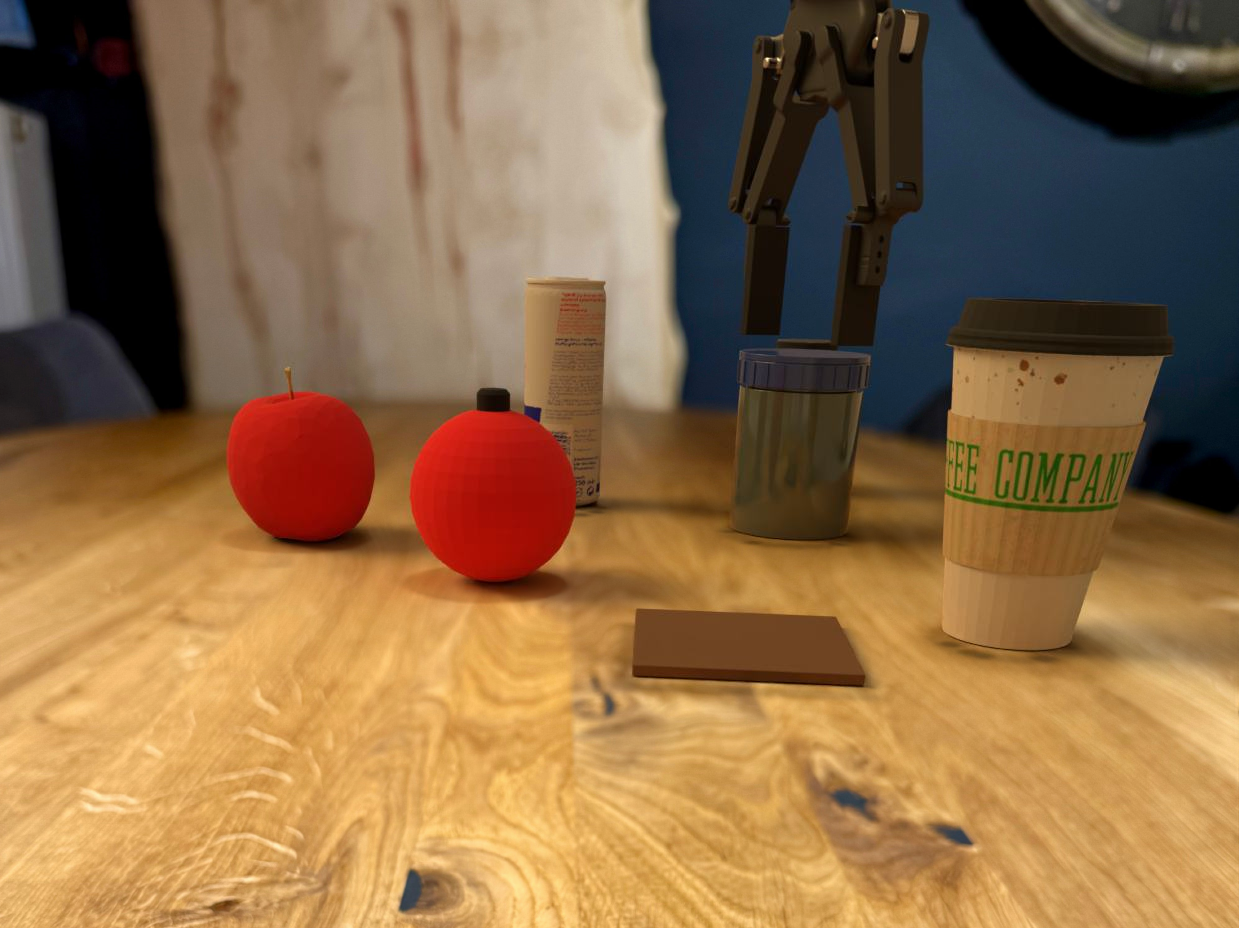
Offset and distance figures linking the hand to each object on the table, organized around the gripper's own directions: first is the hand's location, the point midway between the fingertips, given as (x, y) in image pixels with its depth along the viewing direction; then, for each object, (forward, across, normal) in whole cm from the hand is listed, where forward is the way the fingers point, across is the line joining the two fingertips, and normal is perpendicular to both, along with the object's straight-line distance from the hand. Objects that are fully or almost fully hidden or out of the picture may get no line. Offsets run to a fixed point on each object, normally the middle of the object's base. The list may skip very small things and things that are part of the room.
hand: (803, 339), depth 82 cm
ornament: (+12, -8, +25) cm, 29 cm away
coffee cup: (+12, -27, +6) cm, 30 cm away
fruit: (+12, +8, +31) cm, 34 cm away
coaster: (+12, -24, +20) cm, 34 cm away
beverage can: (+12, +14, +10) cm, 21 cm away
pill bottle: (+12, +14, -10) cm, 21 cm away
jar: (+12, 0, 0) cm, 12 cm away
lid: (+1, 0, 0) cm, 1 cm away
